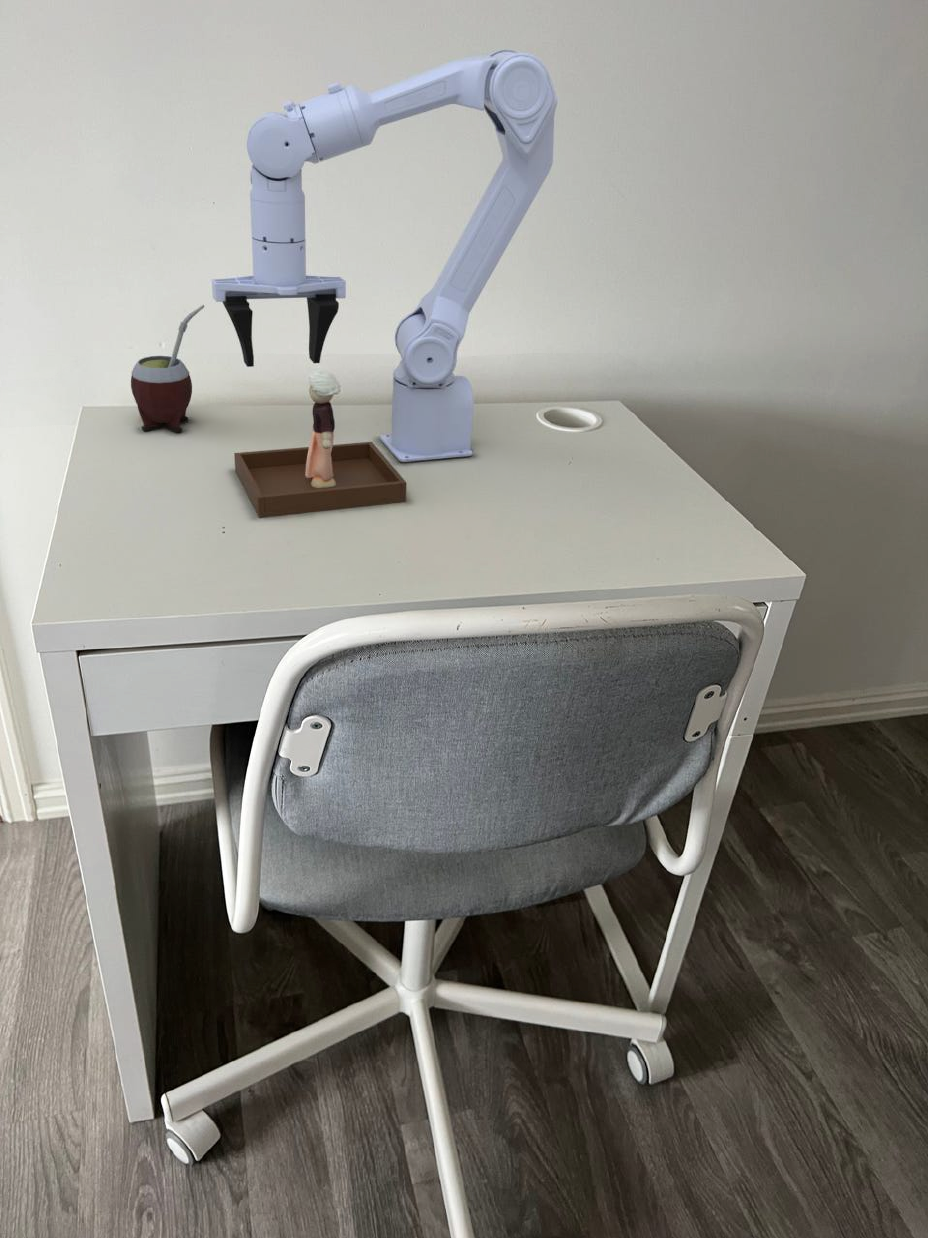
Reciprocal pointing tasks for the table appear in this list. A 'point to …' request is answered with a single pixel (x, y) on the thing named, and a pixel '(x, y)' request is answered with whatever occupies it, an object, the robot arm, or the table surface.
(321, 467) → the grandmother figurine
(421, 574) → the table surface
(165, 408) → the mate gourd
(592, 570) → the table surface
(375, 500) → the tray
